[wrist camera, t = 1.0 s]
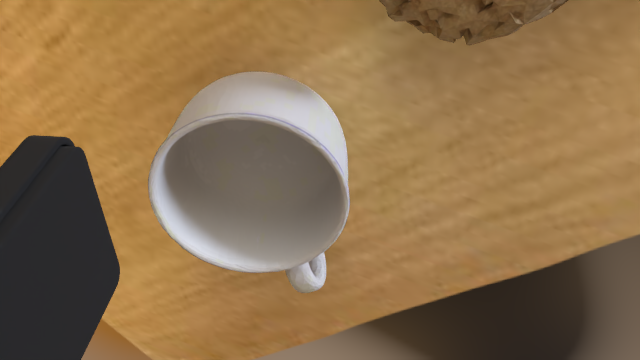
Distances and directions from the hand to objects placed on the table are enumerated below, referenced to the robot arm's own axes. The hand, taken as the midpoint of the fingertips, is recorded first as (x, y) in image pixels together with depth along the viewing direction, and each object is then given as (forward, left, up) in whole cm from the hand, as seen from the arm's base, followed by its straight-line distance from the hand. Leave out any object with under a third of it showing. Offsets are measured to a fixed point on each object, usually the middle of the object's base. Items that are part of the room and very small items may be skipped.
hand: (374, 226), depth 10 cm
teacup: (+16, -6, -25) cm, 30 cm away
